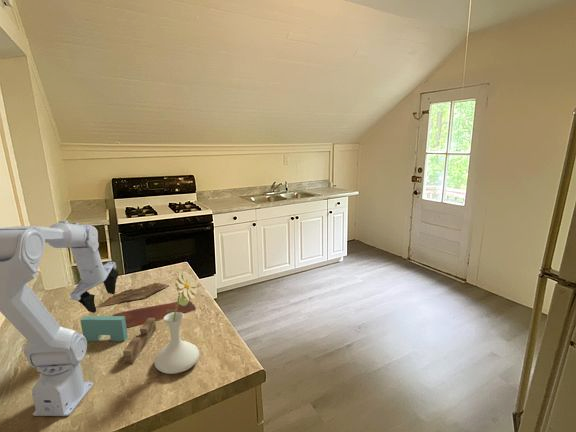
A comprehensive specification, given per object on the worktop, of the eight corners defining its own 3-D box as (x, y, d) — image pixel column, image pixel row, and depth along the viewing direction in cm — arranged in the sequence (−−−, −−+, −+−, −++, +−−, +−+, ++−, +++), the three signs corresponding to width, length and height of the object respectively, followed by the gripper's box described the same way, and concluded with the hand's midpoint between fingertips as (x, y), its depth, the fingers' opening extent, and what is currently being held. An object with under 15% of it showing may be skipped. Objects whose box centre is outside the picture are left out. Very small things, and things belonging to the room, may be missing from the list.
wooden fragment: (164, 281, 135) (164, 279, 135) (173, 291, 127) (173, 288, 126) (93, 300, 120) (93, 298, 119) (98, 313, 111) (98, 310, 111)
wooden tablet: (110, 334, 100) (109, 329, 100) (110, 318, 109) (110, 313, 108) (197, 313, 112) (197, 308, 112) (191, 300, 121) (191, 295, 120)
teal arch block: (127, 336, 98) (124, 316, 96) (124, 341, 96) (121, 319, 94) (87, 336, 98) (84, 316, 96) (83, 340, 96) (80, 319, 94)
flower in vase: (174, 385, 79) (165, 291, 73) (145, 367, 85) (135, 279, 79) (213, 355, 90) (208, 271, 84) (185, 341, 96) (178, 262, 90)
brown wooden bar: (132, 364, 86) (130, 351, 85) (124, 364, 86) (122, 351, 85) (156, 329, 102) (154, 317, 101) (149, 329, 102) (148, 317, 101)
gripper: (97, 247, 94) (108, 283, 101) (54, 278, 82) (70, 317, 89) (118, 251, 93) (127, 287, 100) (77, 283, 81) (92, 322, 87)
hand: (102, 301), depth 94 cm, fingers open, 7 cm apart
